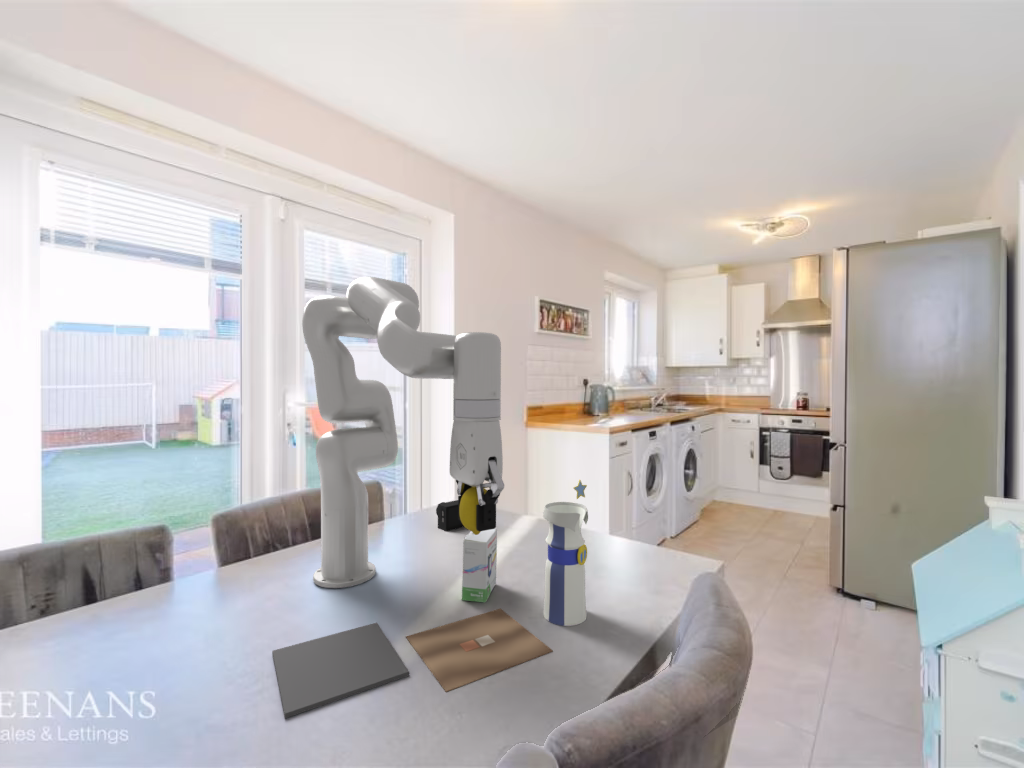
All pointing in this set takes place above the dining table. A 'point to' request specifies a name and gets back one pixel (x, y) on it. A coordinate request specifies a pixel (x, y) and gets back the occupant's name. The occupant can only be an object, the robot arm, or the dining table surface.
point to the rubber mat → (335, 668)
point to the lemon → (469, 509)
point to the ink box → (479, 565)
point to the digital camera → (448, 516)
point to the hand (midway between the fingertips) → (476, 523)
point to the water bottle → (565, 562)
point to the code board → (475, 648)
